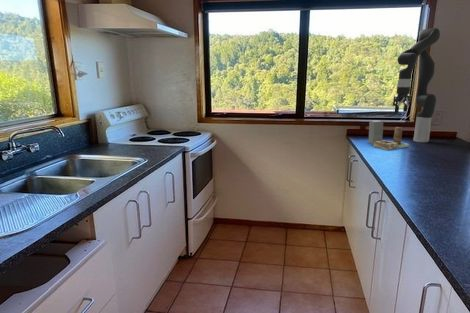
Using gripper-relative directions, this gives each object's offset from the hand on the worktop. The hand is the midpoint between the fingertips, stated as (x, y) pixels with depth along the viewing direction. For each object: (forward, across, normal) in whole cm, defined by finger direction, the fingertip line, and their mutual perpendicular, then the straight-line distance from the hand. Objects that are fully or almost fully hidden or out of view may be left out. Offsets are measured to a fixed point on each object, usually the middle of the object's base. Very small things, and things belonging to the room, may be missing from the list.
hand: (400, 112), depth 207 cm
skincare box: (+23, +6, -13) cm, 27 cm away
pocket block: (+22, +12, 0) cm, 25 cm away
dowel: (+22, 0, 0) cm, 22 cm away
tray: (+22, +1, 0) cm, 23 cm away
